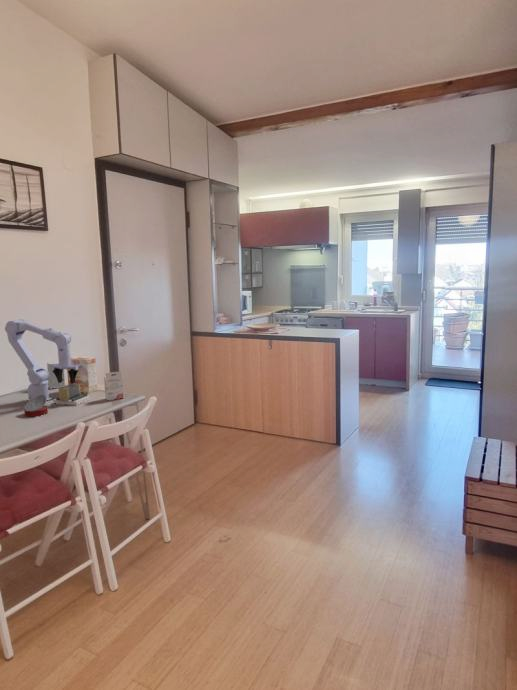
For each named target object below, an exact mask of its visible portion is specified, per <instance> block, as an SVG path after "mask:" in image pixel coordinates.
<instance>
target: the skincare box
mask: <svg viewBox="0 0 517 690" xmlns="http://www.w3.org/2000/svg"><path fill="white" fill-rule="evenodd" d="M46 365H47V367H46V370H47V371H48V372H49V374H50V377H49V379H48V389H50V390H53V389H52V388H57V389H59V388H61V387H64V386H66V383H65V369H63V372H62V382H61V383H58V380H57V378H56V376H55V374H54V373H53V370H54V369H52V365H59V361H57V362H47V364H46Z"/></svg>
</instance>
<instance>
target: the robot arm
mask: <svg viewBox="0 0 517 690" xmlns="http://www.w3.org/2000/svg"><path fill="white" fill-rule="evenodd" d="M4 330H5V332H6V334H7V341H8V342H9V344H10V345H11V347H12V348H13V350H14V352H15V353H16V355H17V356H18V358H20V360H21V361H22V364H23V365H24V366H25V367H26V369H27V373H26V375H27V376H28V381H29V382H30V384H29V385H28V387H27V397H28V400H27V402H29V401H30V400H32V399H33V398H35V397H37V396H39V395H44V396H45V397H46V402H48V401H50V400H54V399H53V397H49V395H50V394H49V393H50V392H49V387H48V379H49V377H50V374H49V372H48V369H46V368H44V366H43V365H40V364H39V363H38V362H37V360H36V359H35V358H34V356H33V355H32V353H31V351H30V350H29V349H28V347H27V346H26V344H25V343H24V341H23V340H22V338H23V336H24V333H25V332H26V331H28V332H31V333H35V334H37V335H41V336H42V338H43V339H45V340H48V341H50V342H52V343H55V345H56V348H57V355H58V356H57V357H58V362H59V365H52V369H54V370H53V373H54V374H55V376H56V378H57V380H58V383H61V382H62V372H63V369H64V370H67V369H68V370H69V371H68V373H69V376H70V382H71V384H73V383H75V378H76V375H77V372H78V366H75V365H71V358H70V357H71V348H70V347H71V346H70V344H71V342H72V337H71V335H69V334H68V333H66V332H65V333H62V332H61V331H57V330H54V328H52V327H48V328H43V327H41V326H39V325H36V324H35V323H32V322H30V321H29V320H24V319H17V320H9V321H7V322H6V324H5V327H4ZM47 400H48V401H47Z"/></svg>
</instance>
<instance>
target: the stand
mask: <svg viewBox="0 0 517 690" xmlns="http://www.w3.org/2000/svg"><path fill="white" fill-rule="evenodd" d="M90 399H91V395H88V393H83V394H81V396H79V397H76V398H74V399H71V400H70V401H60V399H59V396H58V397H56V398H55V399H52V400H53V404H54V403H56V404H55V405H64V404H68V405H67V406H79V405H81V404H80V403H82V404H84V403H86V402H85V401H87V400H89V401H90ZM91 400H92V399H91ZM83 402H84V403H83ZM87 402H88V401H87ZM78 404H79V405H78Z"/></svg>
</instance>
